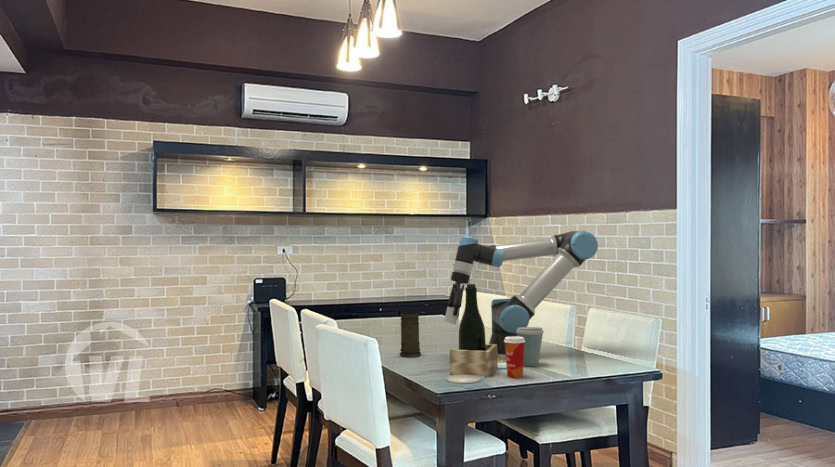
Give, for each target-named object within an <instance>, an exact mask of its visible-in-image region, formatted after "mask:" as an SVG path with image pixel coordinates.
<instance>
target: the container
mask: <svg viewBox="0 0 835 467" xmlns="http://www.w3.org/2000/svg"><path fill="white" fill-rule="evenodd" d="M399 317H400V338H401V340H400V341H401V342H400V349H399V351H400V353H399V355H400V357H402V358H418V357H420V356H422V355H421V354H422V353H421V348H420V323H419V320H420V318H419V317H420V313H418V312H403V313H400V314H399Z"/></svg>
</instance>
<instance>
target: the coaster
mask: <svg viewBox="0 0 835 467" xmlns="http://www.w3.org/2000/svg"><path fill="white" fill-rule="evenodd" d="M481 380H482V376H476V375H469V374H459V375H449V376H447V378H446V381H448V382H449V383H452V384H453V383H454V384H459V385H462V384H464V385H466V384H474V383H475V384H476V383H479V382H481Z"/></svg>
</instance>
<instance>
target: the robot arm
mask: <svg viewBox="0 0 835 467" xmlns="http://www.w3.org/2000/svg"><path fill="white" fill-rule="evenodd" d="M598 244H599V243H598V240H597V238H596V237H595V235H594V234H593V233H591V232H589V231H586V230H578V231H577V230H571V231H568V232H564V233H561V234H554V235H551V236H550V237H549V238H541V239H535V240H534V239H532V240H526V241H525V240H524V241H517V242H509V243H501V244H495V245H483V244H480V243H479V239H478V238H476V237H473V236H470V235H462V236H461V237H460V239H459V243H458V245H457V246H458V247H457V250H456V253H455V254H456V255H455V260H454V262H453V263H452V265H453V268H452V269H453V271H452V272H451V275H450V276H451V277H450V281H452V282H455V283H453V284H452V288H451V291H450V294H449V298H448V301H447V304H446V305H447V308H446V312H445V316H444V323H447V324H452V325H457V321H458V318H459V312H460V308H462V302H463V296H464V291H465V290H464V289H465V285H467V284H470V283H469V282H470V275H471V274H472V270H473V267H474V265H473V264H474V262H476V263H479V264H480V265H482V264H483V265H487V266H491V267H496V268H500V267H501V266H502V265H503V264H504V262H509V261H517V260H524V259H525V260H526V259H533V258H540V257H550V256H552V257H553V259H552V260H551V261H550V262H549V263H548V264H546V266H545V267H544V268H542V270H541V272H539V273H538V274H537V276H536V277H535V278H534V279H533V280H532V281H531V282H530V283H529V284H528V285H527V286H526V287H525V289H523V290H522V292H520V294H514V295H513V296H512V297H510V298H496V299H492V300H491V303H490V304H491V305H490V308H491V336H490V339H489V342H488V344H497V353H498V354H499V355H506V353H505V342H504V340H505V337H511V336H514V337H515V336H517V332H516V330H517V329H518V328H520V327H529V324H530V320H532V318H533V317H534V316H535V315H536V309H537V307H538V306H539V305H540V304H541V303H542V302H543V301H544V300H545V299H546V297H548V296H549V295H550V294H551V292H552V291H553V290H554V289H555V288H556V287H557V286H558V285H559V284H560V283H561V282H562V281H563V279H565V278H566V276H567V275H568V274H569V273H570V272H571V271H572V270H573V269H575V268H580V267H581V265H582V264H584V262H585V261H587V260H590V259H591V258H593V257H594V256H595V255H596V253H597V251H598V246H599V245H598Z"/></svg>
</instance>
